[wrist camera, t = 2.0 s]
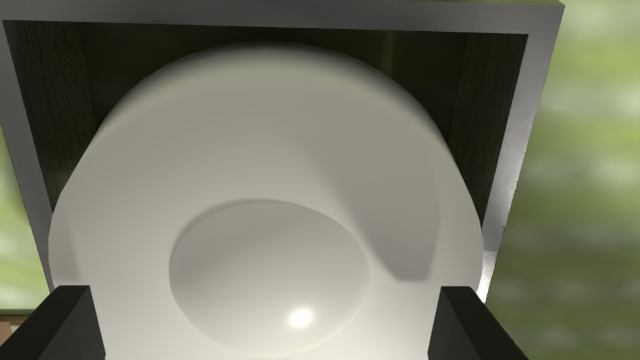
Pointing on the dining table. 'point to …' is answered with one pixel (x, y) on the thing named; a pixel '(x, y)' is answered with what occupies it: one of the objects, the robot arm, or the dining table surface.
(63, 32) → the grey shallow square box
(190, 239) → the white dimpled thick disc
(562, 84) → the dining table surface
